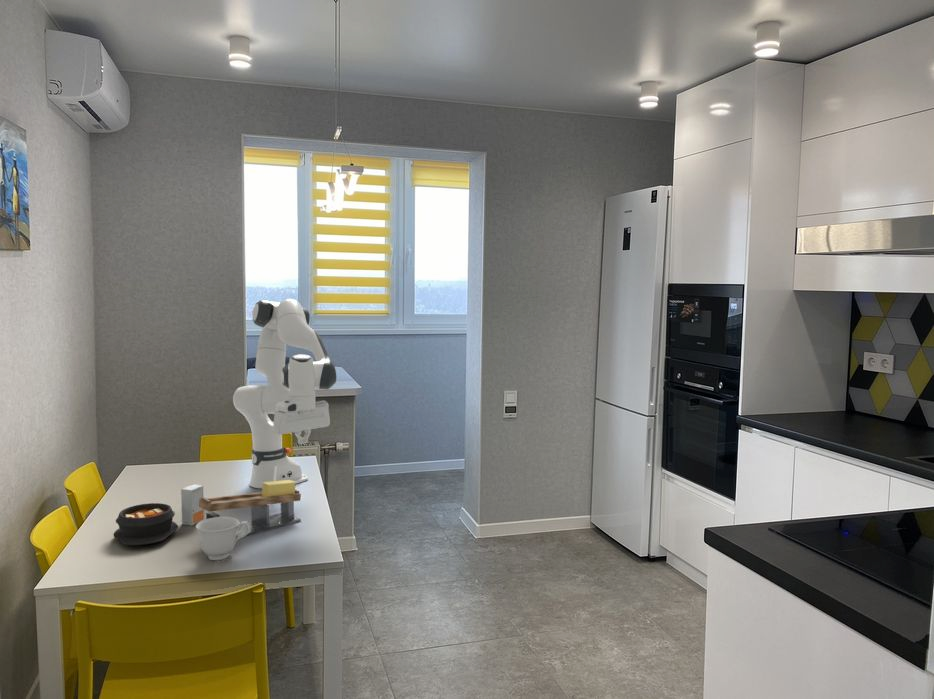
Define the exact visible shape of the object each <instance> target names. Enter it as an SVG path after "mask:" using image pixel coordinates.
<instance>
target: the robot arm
mask: <svg viewBox="0 0 934 699" xmlns="http://www.w3.org/2000/svg"><path fill="white" fill-rule="evenodd" d="M251 312H252V314H251V316H252V322H253V323H254V325H256V326H257V327H260V328H262V329H261V332H260V335H259V339H258V343H257V349H256V357H255V358H256V359H255V364H254V366H255V371H256V372H257V373H258V374H259V375H260V376H262V377H264V378H266V379H267V384H266V385H262V384H261V385H258V384H253V385H252V384H251V385H250V384H249V385H244V386H243V385H242V386H240V387H238V388H236V390H235V391H234V393H233V396H232V402H233V407H234V408H235V409H236V410H237V412H239V413H240V414H242V415H243V416H244V417H245V420H246V421H247V422H248V424H249V425H248V426H250V430H251V437H252V449H251V464H252V468H251V469H252V470H251V477H250V481H249V484H248V485H249V486H250V487H252V488H255V489H262V484H263V482H272V481H283V480H291V481H294V482H296V484H299V483H303V482H305V481H308V480H309V478H308V476H307V475H306V474H304V473H303V472H302V468H301V466H300V463H298V462H297V461H296V460H294V459H293V458H291V457H289V456H288V455H287V454H291V453H292V449H291V448H290V447H284V446H283V435H286V434H292V433H294V435H295V436H296V439H297V443H298V444H299V445H302V444H307V443H309V438H310V436H311V433H312V430H315V429H322V428H327V427H329V426H330V424H331V418H330V409H329V406H330V405H329V403H328V401H326V400H324V399H322V400H316V391H315V390H318V389H319V390H330V388H332V387H333V386H334V385H335V384H336V382H337V369H336V367H335V364H334V363H333V362H332V360H331V357H329V354H328V351H327V349H326V347H325V344H324V342H323V340H322V337H321V336H320V334H319V332H318V331H316V330H314V328H313V329H312V328H311V327H310V321H311V314H310V312H309V310H308V309H307V308H305V307H303V306H302V304H301V302H299V301H298V300H296V299H292V298H286V299H284V300H282V301H280V302H279V301H272V300H271V301H270V300H267V299H266V300H265V299H261V300H258V301H257V302H256V303H255V304H254V307H253V309H252V311H251ZM287 345H288V346H289V347H293V348H299V349H304V350H306V351H309V352H311V353H312V354H313V356H314V359H315V361H314V359H313V357H312V356H311V355H309V354H305V353H300V354H294V355H291V356H290V358H289V361H288V363H286V356H287V355H286V354H287ZM271 414H272V415H274V416H273V421H272V420H271V418H270V417H269V415H271ZM302 432H303V433H304V435H303V437H302V436H301V435H302ZM296 484H295V485H296Z"/></svg>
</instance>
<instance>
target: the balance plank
mask: <svg viewBox="0 0 934 699" xmlns="http://www.w3.org/2000/svg"><path fill="white" fill-rule="evenodd" d="M301 495H302V494H301V493H300V490H299V489H297V488H295V494H287V495H279V496H270V497H263V496H262V491H261V492H251V493H244V494H236V495H234V494H233V495H226V496H217V497H215V496H214V497H207V498H206V497H202V498H201V499H199V507H201V508H203V509H204V511H206V512H212V511H213V512H218V511H219V512H220V511H226V510H234V509H235V510H236V509H242V508H244V509H245V508H251V507H252V506H260V505H269V506H270V505H274V504H275V505H276V504H281V503H285V502H293V501H294V502H300V501H301V497H302V496H301Z"/></svg>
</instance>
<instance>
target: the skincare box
mask: <svg viewBox="0 0 934 699" xmlns="http://www.w3.org/2000/svg"><path fill="white" fill-rule="evenodd" d="M180 491H181V492H180V493H181V495H180V496H181V524H182V525H186V526H193V525H197V524H198V523H199V522H200V521H203V520H205V510H204V509H203V508H201V507H199V499H201V498H202V497H204V496H205V494H204V485H200V484H192V485H188V486H185V487H183V488H181V489H180ZM204 498H205V497H204Z"/></svg>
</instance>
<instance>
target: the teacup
mask: <svg viewBox="0 0 934 699" xmlns="http://www.w3.org/2000/svg"><path fill="white" fill-rule="evenodd" d="M238 524H240V525H239V526H237V525H238ZM242 525H246V526H247V530H246V532H245V533H243V534H241V535H239V536H238V537H237V538H236V530H237V529H239V530H240V529H241V526H242ZM195 529H197V531H198V533H199V541H200V545H201V549H202V551H203V553H205V554H206V555H208V556H207V557H208V559H209V560H211V561H220V560H222V561H223V560H225V559H227V558H228V557H230V552H231V551H232V550H233V549H234V548H235V545H236V543H237V542H238V540H241V539H242V538H245V537H247V536H246V535H247V534H248V533H249V531H250V525H249V523H248V521H245V520H244V521H241V522H240V521H239V519H238V518H236V517H232V516H220V517H214V518H209V519H205V518H204V520H203V521H200V522H198V523H196V524H195ZM244 536H245V537H244Z"/></svg>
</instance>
